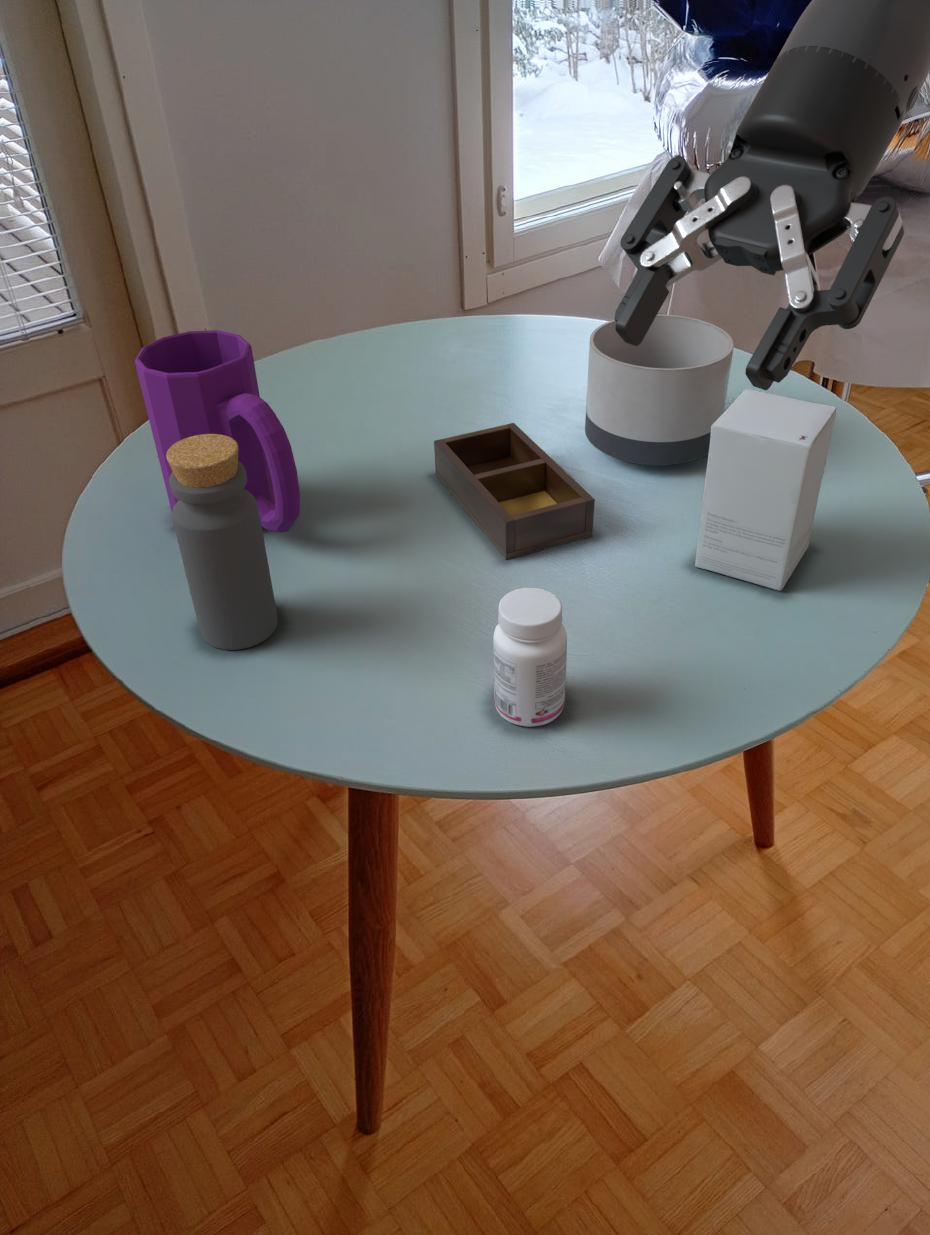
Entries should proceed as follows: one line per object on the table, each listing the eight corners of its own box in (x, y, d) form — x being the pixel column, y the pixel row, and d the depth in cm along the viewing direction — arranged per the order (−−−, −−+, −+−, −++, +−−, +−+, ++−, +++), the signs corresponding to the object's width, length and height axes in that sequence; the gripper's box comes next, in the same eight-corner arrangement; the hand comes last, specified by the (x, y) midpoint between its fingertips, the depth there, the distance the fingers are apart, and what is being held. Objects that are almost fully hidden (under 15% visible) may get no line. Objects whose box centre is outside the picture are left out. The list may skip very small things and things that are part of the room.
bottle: (293, 613, 75) (263, 437, 66) (249, 659, 71) (211, 478, 62) (230, 596, 77) (193, 423, 68) (184, 639, 73) (138, 461, 64)
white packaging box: (810, 547, 80) (842, 406, 73) (780, 594, 76) (811, 447, 68) (723, 523, 84) (745, 385, 76) (690, 566, 79) (709, 423, 71)
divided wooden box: (513, 456, 94) (513, 422, 92) (592, 536, 83) (595, 499, 81) (435, 475, 92) (433, 440, 89) (505, 559, 80) (505, 522, 78)
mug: (237, 475, 93) (207, 320, 83) (346, 534, 84) (326, 368, 75) (153, 514, 87) (111, 353, 78) (260, 581, 79) (227, 410, 70)
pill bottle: (565, 682, 68) (569, 584, 63) (563, 730, 65) (568, 630, 59) (496, 679, 69) (495, 582, 64) (491, 727, 65) (490, 627, 60)
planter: (742, 438, 96) (759, 334, 89) (675, 492, 88) (688, 382, 82) (629, 403, 102) (637, 304, 96) (558, 450, 95) (561, 346, 88)
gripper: (704, 29, 54) (558, 294, 55) (962, 54, 45) (785, 365, 46) (744, 118, 60) (612, 355, 61) (978, 155, 52) (821, 428, 52)
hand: (687, 359), depth 53 cm, fingers open, 8 cm apart
